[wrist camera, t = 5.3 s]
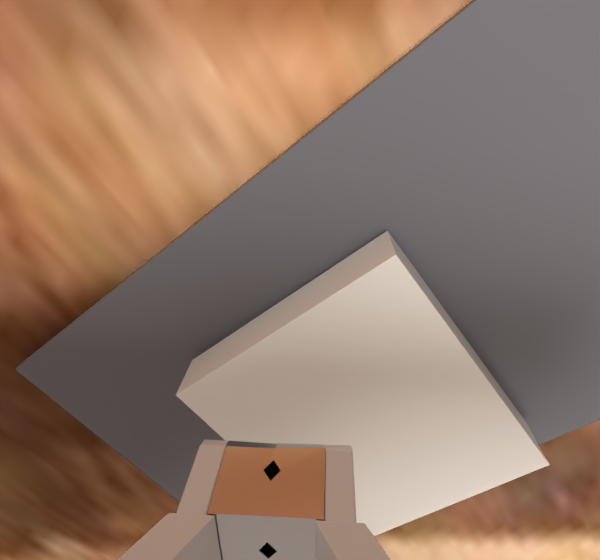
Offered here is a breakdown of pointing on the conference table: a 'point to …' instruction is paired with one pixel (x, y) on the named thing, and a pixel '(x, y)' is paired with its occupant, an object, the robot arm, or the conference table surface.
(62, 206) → the conference table surface
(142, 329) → the mat
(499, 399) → the tile
